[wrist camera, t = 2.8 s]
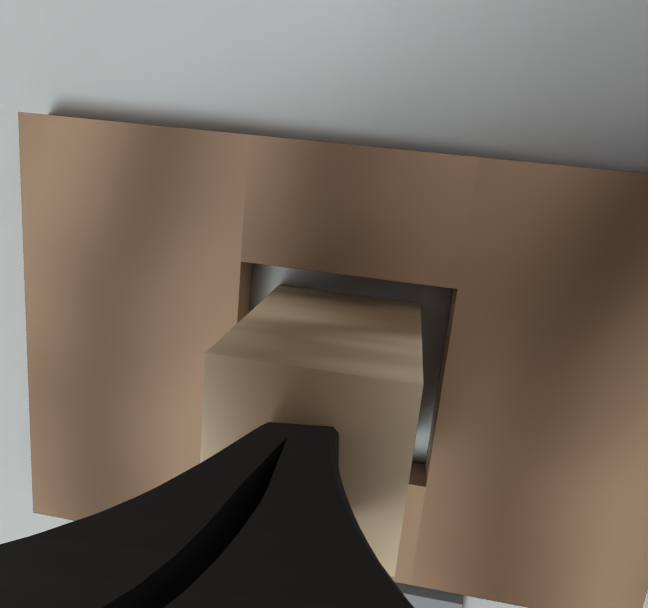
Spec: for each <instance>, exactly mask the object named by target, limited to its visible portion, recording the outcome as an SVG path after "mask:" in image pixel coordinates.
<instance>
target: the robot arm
mask: <svg viewBox="0 0 648 608" xmlns="http://www.w3.org/2000/svg"><path fill="white" fill-rule="evenodd" d="M0 608H414V606H413V605H412V604H411V603H410V602H409V601H408V600H407V598H406V597H405V596H404V594H403V593H402V592H401V590H400V589H399V588H398V586H397V585H396V583H395V582H394V581H393V579H392V578H391V577H390V575H389V574H388V573H387V571H386V570H385V569H384V567H383V566H382V565H381V563H380V562H379V560H378V558H377V557H376V555H375V553H374V552H373V550H372V548H371V547H370V545H369V544H368V542H367V540H366V538H365V536H364V534H363V532H362V530H361V529H360V526H359V524H358V522H357V520H356V518H355V516H354V513H353V511H352V509H351V506H350V503H349V501H348V498H347V496H346V493H345V490H344V487H343V484H342V480H341V476H340V472H339V433H338V431H337V430H336V429H335V428H334V427H332V426H318V425H304V424H290V423H276V422H267V423H265V424H263V425H261V426H260V427H258V428H256V429H254V430H253V431H251V432H250V433H248V434H246V435H245V436H243V437H242V438H240V439H239V440H237V441H235V442H234V443H232V444H231V445H229V446H227V447H226V448H224V449H223V450H221V451H219V452H218V453H216V454H214V455H213V456H211V457H210V458H208V459H206V460H205V461H203V462H201V463H200V464H198V465H196V466H194V467H192V468H190V469H189V470H187V471H185V472H183V473H181V474H180V475H178V476H176V477H174V478H172V479H171V480H169V481H167V482H165V483H163V484H161V485H160V486H158V487H156V488H154V489H152V490H150V491H147V492H145V493H143V494H141V495H139V496H137V497H135V498H132V499H130V500H128V501H125V502H123V503H121V504H118V505H116V506H114V507H111V508H109V509H107V510H104V511H102V512H99V513H96V514H94V515H91V516H88V517H85V518H82V519H79V520H76V521H74V522H71V523H68V524H65V525H62V526H59V527H56V528H53V529H50V530H47V531H45V532H42V533H39V534H35V535H32V536H29V537H25V538H22V539H18V540H15V541H11V542H8V543H4V544H0Z"/></svg>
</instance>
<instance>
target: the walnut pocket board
mask: <svg viewBox="0 0 648 608" xmlns="http://www.w3.org/2000/svg"><path fill="white" fill-rule="evenodd" d="M18 120H19V147H20V173H21V200H22V226H23V253H24V279H25V306H26V332H27V359H28V385H29V412H30V438H31V465H32V491H33V513H38V514H43V515H48V516H53V517H59V518H64V519H69V520H74V521H76V520H79V519H82V518H85V517H88V516H91V515H94V514H96V513H99V512H102V511H104V510H107V509H109V508H111V507H114V506H116V505H118V504H121V503H123V502H125V501H128V500H130V499H132V498H135V497H137V496H139V495H141V494H143V493H145V492H147V491H150V490H152V489H154V488H156V487H158V486H160V485H161V484H163V483H165V482H167V481H169V480H171V479H172V478H174V477H176V476H178V475H180V474H181V473H183V472H185V471H187V470H189V469H190V468H192V467H194V466H196V465H198V464H200V452H201V430H202V408H203V386H204V364H205V352H207V351H208V350H209V349H210V348H211V347H212V346H213V345H214V344H215V343H216V342H217V341H219V340H220V339H221V338H222V337H223V336H224V335H225V334H226V333H227V332H228V331H230V330H231V329H232V328H233V327H234V326H235V325H236V324H237V323H238V322H239V321H241V320H242V319H243V318H244V317H245V316H246V315H247V314H248V313H249V311H250V296H251V281H252V266H253V263H256V264H264V265H272V266H280V267H288V268H295V269H303V270H311V271H319V272H327V273H335V274H343V275H351V276H359V277H367V278H375V279H382V280H390V281H398V282H406V283H414V284H422V285H430V286H438V287H446V288H453V293H452V300H451V306H450V312H449V319H448V325H447V331H446V338H445V344H444V350H443V357H442V363H441V369H440V375H439V382H438V388H437V394H436V401H435V407H434V413H433V420H432V426H431V432H430V439H429V445H428V451H427V457H426V464H425V465H423V464H417V463H412V465H411V471H410V478H409V485H408V491H407V498H406V504H405V511H404V518H403V524H402V531H401V538H400V544H399V551H398V557H397V564H396V571H395V577H392V576H390V577H391V578H392V579H393V581H394V582H398V583H403V584H408V585H413V586H419V587H424V588H429V589H434V590H440V591H445V592H450V593H455V594H460V595H466V596H471V597H476V598H481V599H486V600H492V601H497V602H502V603H507V604H513V605H518V606H523V607H528V608H642V607H643V604H644V600H645V597H646V593H647V590H648V174H647V173H637V172H627V171H616V170H606V169H596V168H586V167H575V166H565V165H555V164H545V163H535V162H524V161H514V160H504V159H494V158H484V157H473V156H463V155H453V154H443V153H432V152H422V151H412V150H402V149H392V148H381V147H371V146H361V145H351V144H340V143H330V142H320V141H310V140H300V139H289V138H279V137H269V136H259V135H249V134H238V133H228V132H218V131H208V130H197V129H187V128H177V127H167V126H157V125H146V124H136V123H126V122H116V121H106V120H95V119H85V118H75V117H65V116H54V115H44V114H34V113H24V112H18Z"/></svg>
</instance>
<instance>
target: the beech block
mask: <svg viewBox="0 0 648 608" xmlns="http://www.w3.org/2000/svg"><path fill="white" fill-rule="evenodd" d="M422 392H423V356H422V328H421V304H419V303H411V302H404V301H396V300H388V299H381V298H373V297H365V296H358V295H350V294H342V293H334V292H327V291H319V290H311V289H304V288H296V287H288V286H281V285H279V286H278V287H277V288H276V289H275V290H273V291H272V292H271V293H270V294H269V295H268V296H267V297H266V298H265V299H264V300H262V301H261V302H260V303H259V304H258V305H257V306H256V307H255V308H254V309H253V310H251V311H250V312H249V313H248V314H247V315H246V316H245V317H244V318H243V319H242V320H241V321H239V322H238V323H237V324H236V325H235V326H234V327H233V328H232V329H231V330H230V331H228V332H227V333H226V334H225V335H224V336H223V337H222V338H221V339H220V340H219V341H217V342H216V343H215V344H214V345H213V346H212V347H211V348H210V349H209V350H208V351H207V352H205V364H204V386H203V408H202V430H201V452H200V463H201V462H203V461H205V460H206V459H208V458H210V457H211V456H213V455H214V454H216V453H218V452H219V451H221V450H223V449H224V448H226V447H227V446H229V445H231V444H232V443H234V442H235V441H237V440H239V439H240V438H242V437H243V436H245V435H246V434H248V433H250V432H251V431H253V430H254V429H256V428H258V427H260V426H261V425H263V424H265V423H267V422H276V423H290V424H304V425H318V426H332V427H334V428H335V429H336V430H337V431H338V433H339V472H340V476H341V480H342V484H343V487H344V490H345V493H346V496H347V498H348V501H349V503H350V506H351V509H352V511H353V513H354V516H355V518H356V520H357V522H358V524H359V526H360V529H361V530H362V532H363V534H364V536H365V538H366V540H367V542H368V544H369V545H370V547H371V548H372V550H373V552H374V553H375V555H376V557H377V558H378V560H379V562H380V563H381V565H382V566H383V567H384V569H385V570H386V571H387V573H388V574H389V575H390V576H392V577H395V571H396V564H397V557H398V551H399V544H400V538H401V531H402V524H403V518H404V511H405V504H406V498H407V491H408V485H409V478H410V471H411V465H412V458H413V451H414V445H415V438H416V432H417V425H418V418H419V412H420V405H421V398H422Z"/></svg>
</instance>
